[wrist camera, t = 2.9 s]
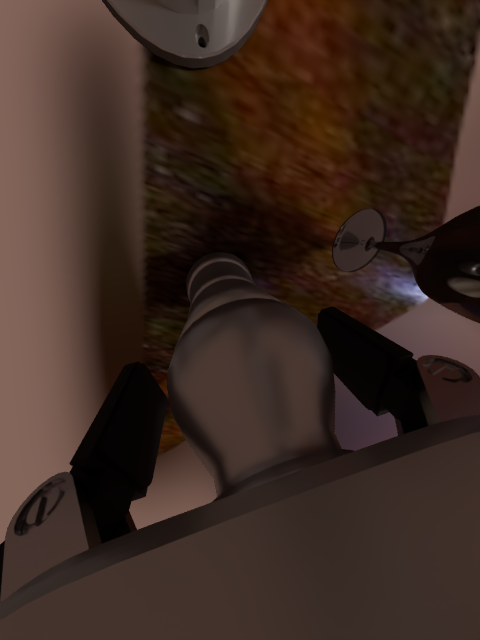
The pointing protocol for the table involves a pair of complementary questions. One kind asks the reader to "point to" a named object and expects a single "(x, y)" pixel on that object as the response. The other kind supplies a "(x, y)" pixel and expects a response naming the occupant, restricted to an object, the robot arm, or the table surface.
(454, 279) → the wine glass
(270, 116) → the table surface
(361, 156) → the table surface
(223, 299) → the plastic bottle
